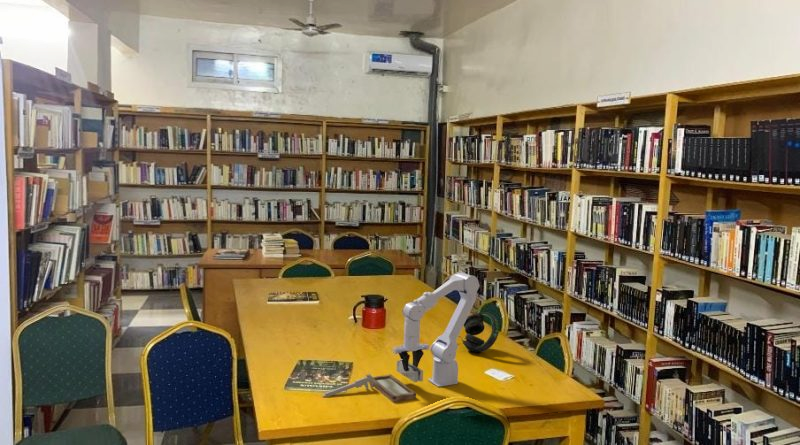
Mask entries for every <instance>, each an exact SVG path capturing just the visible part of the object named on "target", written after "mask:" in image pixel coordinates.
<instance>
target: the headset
mask: <svg viewBox="0 0 800 445" xmlns="http://www.w3.org/2000/svg"><path fill="white" fill-rule="evenodd" d="M485 318H489V319H490V320H491V332H490V334H489V336H488V338H487V340H486V341H485V340H484V339H482V338H480V337H478V335H480V334H481V333H483V332H484V330H485V324H484V319H485ZM499 324H500V323H499V320H498V318H497V317H496V316H495V315H494V314H492V313H489V312H487V311H480V312H478V313H476V314H475V313H474V314H469V315H468V317H467V319H466V321H465V323H464V325H463V327H464V331H465V333H466V335H465V338H464V339H465V340H463V337H462V336H460V335H459V336H458V338H460V339H461V341H462V344H463V345H464V347H465V348H466V349H467V350H469V351H471V352H474V353H477V352H478V353H479V352H481V353H482V352H485V351H487V350H489V349H490V348H492V347H493V345H494V344H495V343H496V342H497V340H498V339H497V338H498V336H499V332H500V325H499Z"/></svg>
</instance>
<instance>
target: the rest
mask: <svg viewBox="0 0 800 445" xmlns="http://www.w3.org/2000/svg"><path fill="white" fill-rule="evenodd" d="M372 378H373V387H374V388H375V389H376V390H377V391H379V393H381V394H382V395H383V396H384V397H386V398H387V399H388V400H390V401H391V402H392V403H396V402H402V401H408V400H413V399H414V400H415V399H417V393H416V392H415V391H414V390H413V389H411V388H410V387H408V386H407V385H406V384H405V383H403V382H402V381H400V380H399V379H398V378H396V377H395V376H393V375H392V374H385V375H384V374H383V375H377V376H372Z"/></svg>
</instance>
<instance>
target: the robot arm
mask: <svg viewBox="0 0 800 445" xmlns="http://www.w3.org/2000/svg"><path fill="white" fill-rule="evenodd" d="M479 288H480V282H479V279H478V278H477V277H476V276H475V275H470V274H468V273H465V272H462V271H457V272H456V273H455V274H453V275H450V277H449V279H448V280H447V281H446V282H443V284H442V285H441V286H439V287H438V288H436V289H435V290H434V291H433V292H430V291H425V292H423V293H422V295H421V296H420V297H418V298H416V299H414V300H413V301H412V302H408V303H406V304H405V305H404V307H403V308H402V310H401V313H402V315H403V317H404V329H403V331H404V332H403V334H404V335H403V344H402V345H398V346H394V347H393V348H392V353H393V354H395V355H398V354H399V357H400V359H401V360H402V364H403V369H404V370H405V371H408V362H409V361H410V357H411V355H412V364H413V365H414V366H416V367H418V368H419V364H420V361H421V359H422V358H423V356H424V354H425V352H424V350H426V351H428V350H430V352H431V354H432V358H433V362H432V365H433V366H432V377H431V378H428V381H429V382H430V383H432V384H433V385H435V386H437V387H438V388H440V387H446V386H451V385H452V386H453V385H458V384H459V381H458V378H459V365H458V362H457V360H456V357H457V356H456V355H457V350H458V348H459V346H458V342H457V339H458V338H459V336H460V333H461V331H462V329H463V327H464V323H465V321H466V319H467V317H468V316H470V312H471V311H472V308H473V306H474V304H475V303H476V300H477V294H478V290H479ZM453 291H458V293H459V296H460V300H459V302H458V303H457V306H456V308H455V310H454V312H453V314H452V316H451V318H450V320H449V322H448V324H447V326H446V328H445V330H444V332H443V334H440V335H438V336H437V338H436V340H434V342H432V344H431V345H429V344H428V343H420V327H421V319H422V318H423V317H424V314H426V312H428V311H429V310H430V309H432V308H433V307H435V306H436V305H437V304H438V300H440V299H442V298H443V297H445V296H447V295H448V294H450V293H452V292H453ZM410 352H411V355H410V354H409V353H410ZM409 363H410V362H409Z"/></svg>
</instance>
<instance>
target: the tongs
mask: <svg viewBox="0 0 800 445" xmlns="http://www.w3.org/2000/svg"><path fill="white" fill-rule="evenodd" d="M396 372H398V373H399V374H401V375H402V376H404V377H406V378H407V379H409V380H411V381H412V382H414V383H417V382H424V370H423V369H421V368H419V366H418V367H416V366H414V365H413V363H411V362H408V371H405V370H404V369H403V364H402V360H401V358H400V359H399V360H396Z"/></svg>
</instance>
